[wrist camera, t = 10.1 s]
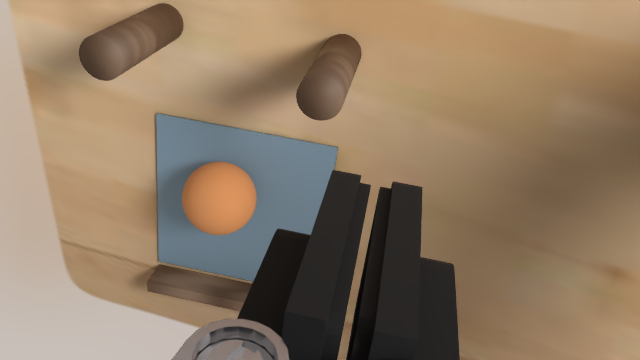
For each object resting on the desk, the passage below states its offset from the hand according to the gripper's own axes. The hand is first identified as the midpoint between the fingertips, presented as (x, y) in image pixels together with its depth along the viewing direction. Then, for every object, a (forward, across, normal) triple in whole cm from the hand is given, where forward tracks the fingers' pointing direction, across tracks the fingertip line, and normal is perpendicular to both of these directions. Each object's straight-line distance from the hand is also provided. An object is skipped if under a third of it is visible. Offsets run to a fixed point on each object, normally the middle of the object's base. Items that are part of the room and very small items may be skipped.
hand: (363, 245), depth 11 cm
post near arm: (+29, +4, +5) cm, 30 cm away
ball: (+26, +11, +17) cm, 33 cm away
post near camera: (+29, +16, +5) cm, 34 cm away
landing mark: (+29, +10, +19) cm, 36 cm away
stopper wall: (+29, +10, +27) cm, 41 cm away
